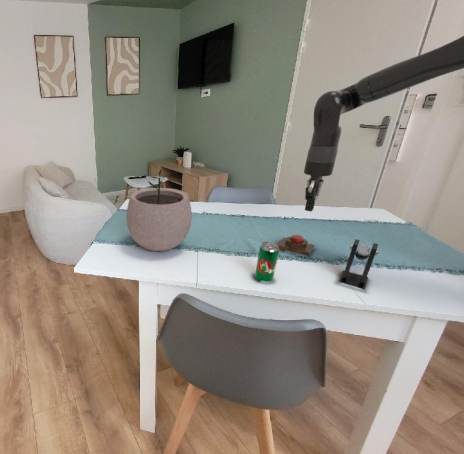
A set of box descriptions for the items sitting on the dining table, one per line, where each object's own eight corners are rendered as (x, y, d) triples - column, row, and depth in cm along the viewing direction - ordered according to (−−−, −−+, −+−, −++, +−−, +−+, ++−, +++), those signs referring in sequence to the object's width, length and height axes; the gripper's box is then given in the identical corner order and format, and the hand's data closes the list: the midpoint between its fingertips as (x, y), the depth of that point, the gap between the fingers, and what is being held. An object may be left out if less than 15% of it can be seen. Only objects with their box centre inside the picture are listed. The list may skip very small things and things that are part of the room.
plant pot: (125, 234, 125) (124, 164, 113) (182, 233, 124) (186, 162, 112) (127, 262, 103) (126, 179, 91) (196, 261, 102) (204, 177, 90)
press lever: (353, 258, 93) (356, 249, 93) (366, 261, 91) (370, 252, 91) (354, 252, 82) (358, 242, 82) (369, 256, 80) (373, 245, 80)
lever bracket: (342, 273, 91) (354, 236, 86) (367, 280, 87) (381, 242, 82) (337, 284, 86) (350, 246, 81) (363, 292, 82) (378, 252, 77)
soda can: (265, 274, 93) (272, 240, 88) (276, 282, 88) (284, 247, 83) (250, 276, 92) (256, 242, 87) (261, 285, 87) (268, 249, 83)
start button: (303, 240, 105) (304, 236, 104) (301, 244, 102) (302, 239, 102) (292, 238, 107) (293, 233, 106) (289, 241, 105) (290, 237, 104)
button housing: (313, 250, 105) (315, 240, 104) (307, 258, 100) (310, 248, 99) (282, 242, 112) (284, 233, 110) (275, 249, 107) (278, 240, 105)
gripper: (311, 155, 99) (301, 203, 106) (301, 161, 91) (290, 213, 98) (338, 157, 94) (326, 207, 101) (331, 164, 86) (317, 218, 93)
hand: (308, 210), depth 99 cm, fingers closed
